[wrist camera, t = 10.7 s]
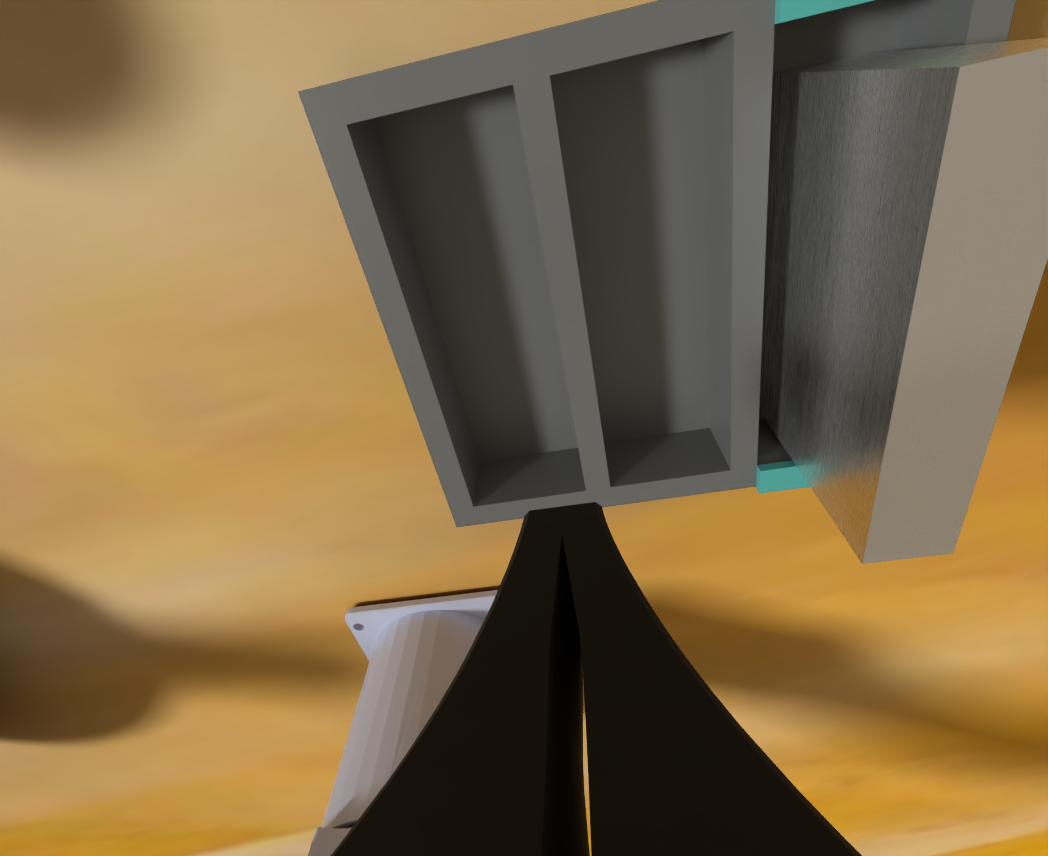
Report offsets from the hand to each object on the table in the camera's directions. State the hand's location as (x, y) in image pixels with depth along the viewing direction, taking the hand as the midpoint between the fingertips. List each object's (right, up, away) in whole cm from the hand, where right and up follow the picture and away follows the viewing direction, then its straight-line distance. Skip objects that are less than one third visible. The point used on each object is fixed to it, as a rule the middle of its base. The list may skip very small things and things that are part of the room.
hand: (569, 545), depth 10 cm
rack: (+3, +7, +7) cm, 10 cm away
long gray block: (+7, +7, +6) cm, 12 cm away
